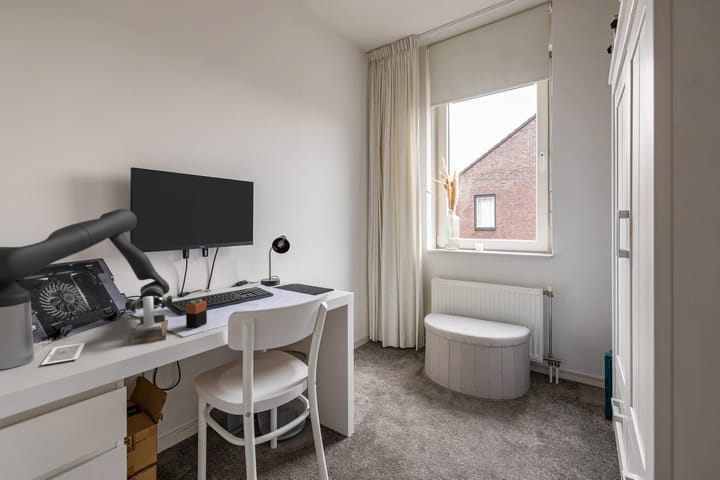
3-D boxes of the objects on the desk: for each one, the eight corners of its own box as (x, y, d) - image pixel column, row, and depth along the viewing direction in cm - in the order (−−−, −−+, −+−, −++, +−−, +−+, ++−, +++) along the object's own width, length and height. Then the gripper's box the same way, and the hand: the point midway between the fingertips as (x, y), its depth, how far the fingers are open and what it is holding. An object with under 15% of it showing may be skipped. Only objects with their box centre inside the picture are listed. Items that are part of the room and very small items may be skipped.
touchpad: (85, 345, 111) (85, 339, 111) (77, 362, 98) (77, 355, 98) (53, 350, 107) (53, 344, 106) (41, 368, 94) (40, 361, 94)
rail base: (130, 344, 111) (130, 332, 110) (137, 327, 128) (137, 316, 128) (165, 339, 115) (165, 328, 115) (168, 323, 133) (167, 313, 133)
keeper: (136, 334, 113) (135, 299, 112) (137, 331, 117) (136, 297, 116) (160, 331, 116) (159, 297, 116) (161, 328, 120) (160, 294, 119)
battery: (185, 328, 128) (184, 302, 127) (197, 322, 134) (197, 297, 134) (195, 328, 127) (195, 302, 126) (207, 323, 133) (206, 298, 133)
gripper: (129, 289, 126) (122, 298, 112) (172, 286, 133) (171, 294, 119) (130, 309, 127) (123, 320, 112) (173, 305, 133) (172, 315, 119)
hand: (148, 307), depth 116 cm, fingers open, 8 cm apart
